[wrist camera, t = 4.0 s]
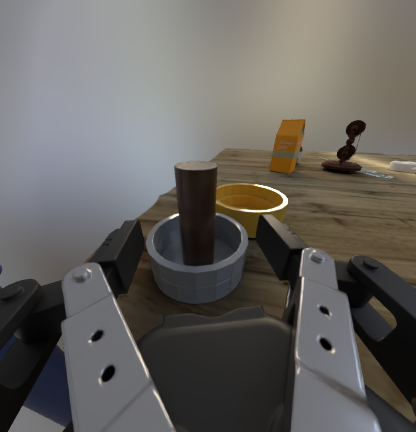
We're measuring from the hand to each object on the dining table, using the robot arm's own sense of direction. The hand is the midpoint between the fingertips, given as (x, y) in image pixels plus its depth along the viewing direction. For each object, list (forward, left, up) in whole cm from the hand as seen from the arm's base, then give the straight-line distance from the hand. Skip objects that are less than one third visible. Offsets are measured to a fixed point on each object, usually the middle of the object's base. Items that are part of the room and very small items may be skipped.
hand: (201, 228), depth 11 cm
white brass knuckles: (+115, -24, -11) cm, 118 cm away
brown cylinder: (+5, +6, -10) cm, 13 cm away
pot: (+5, +6, -11) cm, 13 cm away
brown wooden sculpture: (+90, +1, -11) cm, 91 cm away
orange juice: (+71, +20, -11) cm, 75 cm away
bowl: (+20, +8, -11) cm, 24 cm away
